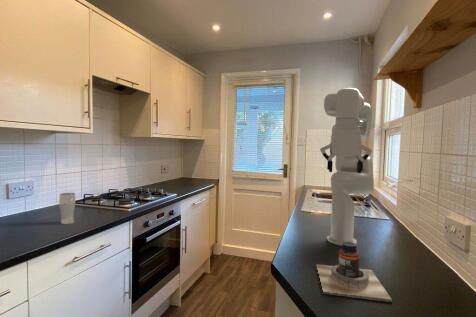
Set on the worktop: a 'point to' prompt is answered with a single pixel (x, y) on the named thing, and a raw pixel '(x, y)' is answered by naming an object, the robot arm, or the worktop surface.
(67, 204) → the beer glass
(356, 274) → the supplement bottle
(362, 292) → the collar board
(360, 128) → the robot arm
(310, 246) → the worktop surface
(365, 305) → the worktop surface
